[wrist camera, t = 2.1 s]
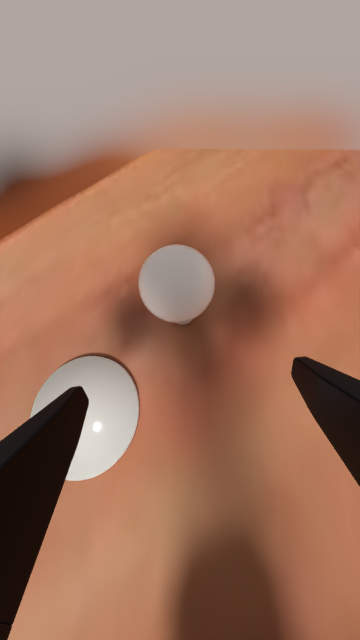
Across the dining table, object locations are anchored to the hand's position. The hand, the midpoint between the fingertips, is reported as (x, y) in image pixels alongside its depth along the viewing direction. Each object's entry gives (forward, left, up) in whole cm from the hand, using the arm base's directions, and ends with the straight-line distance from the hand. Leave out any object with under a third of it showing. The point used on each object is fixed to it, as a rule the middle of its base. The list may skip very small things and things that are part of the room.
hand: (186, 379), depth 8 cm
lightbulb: (+7, -3, -14) cm, 16 cm away
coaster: (+4, +12, -13) cm, 18 cm away
